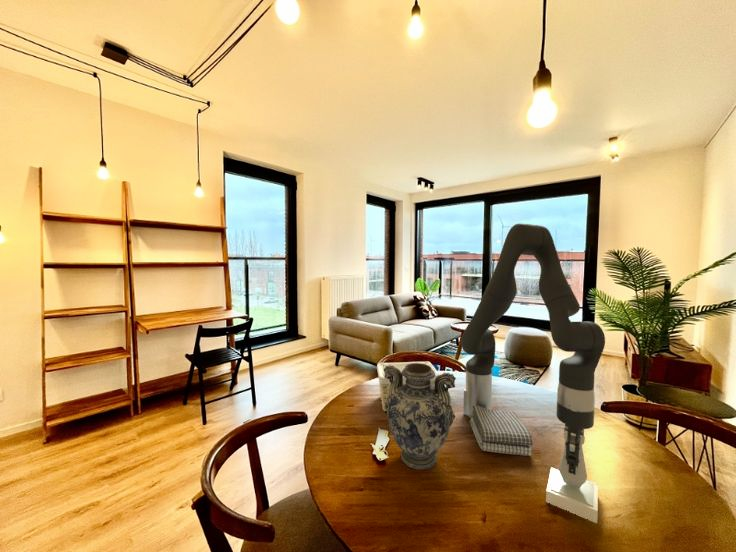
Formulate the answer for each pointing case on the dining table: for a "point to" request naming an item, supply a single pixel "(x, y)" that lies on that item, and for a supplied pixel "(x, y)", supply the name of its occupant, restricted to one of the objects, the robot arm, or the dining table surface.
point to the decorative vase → (419, 412)
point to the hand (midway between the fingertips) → (572, 469)
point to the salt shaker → (569, 477)
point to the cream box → (386, 383)
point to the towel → (500, 432)
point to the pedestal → (573, 496)
